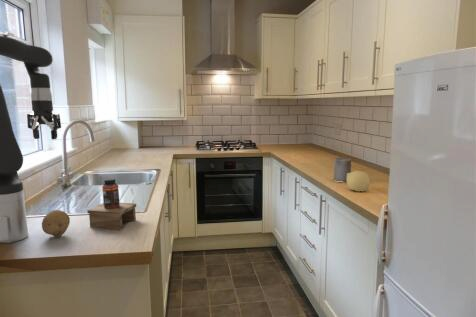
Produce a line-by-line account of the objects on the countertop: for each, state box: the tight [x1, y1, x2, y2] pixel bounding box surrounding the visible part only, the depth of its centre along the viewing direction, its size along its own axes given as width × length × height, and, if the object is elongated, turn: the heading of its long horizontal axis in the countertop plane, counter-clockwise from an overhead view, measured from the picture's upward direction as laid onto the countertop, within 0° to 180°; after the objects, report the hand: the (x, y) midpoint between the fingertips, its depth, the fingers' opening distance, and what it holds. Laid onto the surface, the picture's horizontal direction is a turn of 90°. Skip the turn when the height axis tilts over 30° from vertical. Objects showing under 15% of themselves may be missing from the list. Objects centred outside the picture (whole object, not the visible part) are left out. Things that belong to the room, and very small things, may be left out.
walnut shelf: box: [86, 202, 137, 231], centre depth 139 cm, size 12×14×7 cm
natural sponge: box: [41, 209, 71, 238], centre depth 125 cm, size 9×9×10 cm
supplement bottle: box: [102, 177, 120, 209], centre depth 138 cm, size 6×6×11 cm
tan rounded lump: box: [346, 170, 371, 192], centre depth 188 cm, size 11×12×11 cm
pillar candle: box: [333, 157, 352, 182], centre depth 210 cm, size 10×10×15 cm
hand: (45, 138), depth 145 cm, fingers open, 8 cm apart
